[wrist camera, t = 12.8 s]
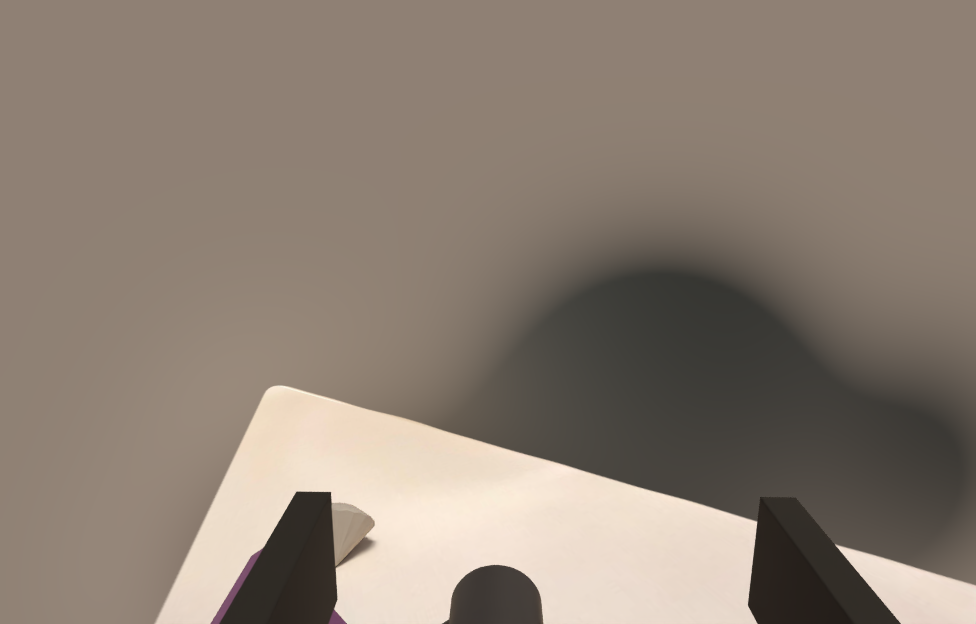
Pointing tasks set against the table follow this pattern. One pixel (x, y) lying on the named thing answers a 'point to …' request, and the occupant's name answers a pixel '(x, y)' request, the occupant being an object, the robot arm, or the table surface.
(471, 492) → the table surface
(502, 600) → the lid
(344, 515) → the gemstone
